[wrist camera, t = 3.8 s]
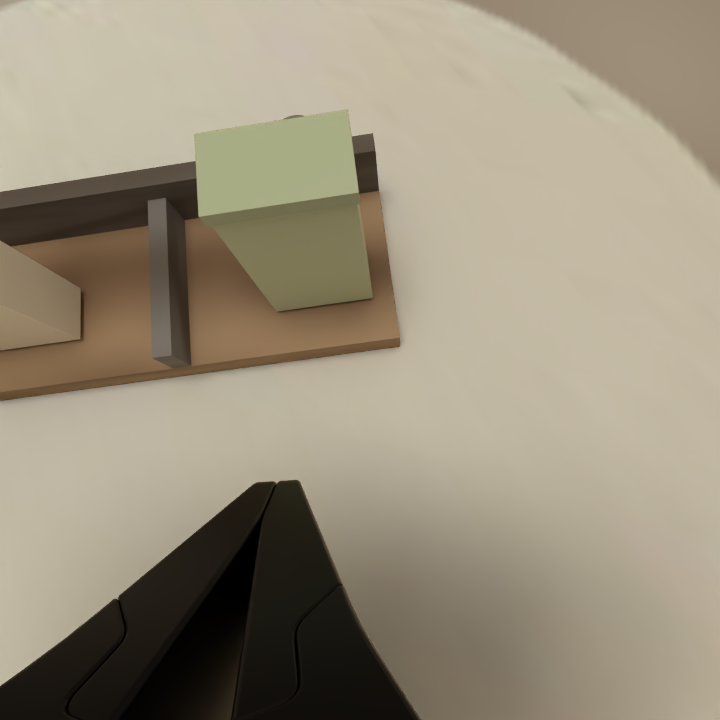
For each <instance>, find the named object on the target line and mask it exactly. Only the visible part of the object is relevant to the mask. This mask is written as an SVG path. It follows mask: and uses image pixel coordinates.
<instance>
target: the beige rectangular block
mask: <svg viewBox="0 0 720 720" xmlns="http://www.w3.org/2000/svg"><path fill="white" fill-rule="evenodd" d="M80 314H81V288H79V287H78V286H76V285H74V284H73V283H71V282H69V281H67V280H66V279H64V278H62V277H61V276H59V275H57V274H56V273H54V272H52V271H51V270H49V269H47V268H46V267H44V266H42V265H41V264H39V263H37V262H36V261H34V260H32V259H30V258H29V257H27V256H25V255H24V254H22V253H20V252H19V251H17V250H15V249H14V248H12V247H10V246H9V245H7V244H5V243H4V242H2V241H0V350H7V349H14V348H22V347H29V346H36V345H43V344H50V343H57V342H64V341H71V340H78V339H80Z"/></svg>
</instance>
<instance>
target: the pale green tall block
mask: <svg viewBox="0 0 720 720" xmlns="http://www.w3.org/2000/svg"><path fill="white" fill-rule="evenodd" d="M194 138H195V157H196V177H197V196H198V215H199V218H200V219H201V221H202V222H203V223H204V224H205V226H206V227H211V226H212V227H213V228H214V230H215V231H216V232H217V233H218V235H219V236H220V237H221V239H222V240H223V241H224V243H225V244H226V245H227V247H228V248H229V249H230V251H231V252H232V253H233V255H234V256H235V257H236V259H237V260H238V261H239V263H240V264H241V265H242V267H243V268H244V269H245V271H246V272H247V273H248V275H249V276H250V277H251V278H252V280H253V281H254V282H255V284H256V285H257V286H258V288H259V289H260V290H261V292H262V293H263V294H264V296H265V297H266V298H267V300H268V301H269V302H270V304H271V305H272V306H273V308H274V309H275V310H276V312H277V311H284V310H291V309H298V308H306V307H313V306H320V305H327V304H334V303H341V302H348V301H355V300H362V299H369V298H373V295H372V287H371V280H370V272H369V264H368V257H367V249H366V243H365V236H364V230H363V224H362V218H361V212H360V205H359V204H360V196H359V189H358V181H357V174H356V166H355V158H354V151H353V143H352V136H351V128H350V121H349V114H348V109H347V110H341V111H335V112H328V113H322V114H316V115H310V116H303V117H297V118H291V119H285V120H278V121H272V122H266V123H260V124H254V125H247V126H241V127H235V128H229V129H222V130H216V131H210V132H204V133H197V134H194Z"/></svg>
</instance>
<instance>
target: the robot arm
mask: <svg viewBox="0 0 720 720" xmlns="http://www.w3.org/2000/svg"><path fill="white" fill-rule="evenodd" d="M118 600H119V601H118ZM0 720H421V719H420V718H419V716H418V715H417V713H416V712H415V710H414V708H413V707H412V705H411V704H410V702H409V701H408V699H407V698H406V696H405V694H404V693H403V691H402V690H401V688H400V687H399V685H398V684H397V682H396V681H395V679H394V677H393V676H392V674H391V673H390V671H389V670H388V668H387V667H386V665H385V663H384V662H383V660H382V659H381V657H380V656H379V654H378V653H377V651H376V649H375V648H374V646H373V644H372V643H371V641H370V639H369V637H368V636H367V634H366V632H365V631H364V629H363V627H362V625H361V623H360V621H359V619H358V617H357V615H356V613H355V611H354V609H353V607H352V604H351V602H350V600H349V598H348V595H347V593H346V590H345V588H344V587H343V584H342V582H341V580H340V577H339V575H338V572H337V570H336V568H335V565H334V563H333V560H332V558H331V556H330V553H329V551H328V548H327V546H326V544H325V541H324V539H323V536H322V534H321V532H320V529H319V527H318V524H317V522H316V519H315V517H314V515H313V512H312V510H311V507H310V505H309V503H308V500H307V498H306V495H305V493H304V491H303V488H302V486H301V483H300V482H299V481H298V480H288V481H279V482H278V483H276V482H273V481H272V482H257V483H255V484H253V485H252V486H251V487H249V488H248V489H247V490H246V491H245V492H243V493H242V494H241V495H240V496H239V497H237V498H236V499H235V500H234V501H233V502H231V503H230V504H229V505H228V506H227V507H225V508H224V509H223V510H222V511H221V512H219V513H218V514H217V515H216V516H215V517H213V518H212V519H211V520H210V521H209V522H207V523H206V524H205V525H204V526H203V527H201V528H200V529H199V530H198V531H196V532H195V533H194V534H193V535H192V536H190V537H189V538H188V539H187V540H186V541H184V542H183V543H182V544H181V545H180V546H178V547H177V548H176V549H175V550H174V551H172V552H171V553H170V554H169V555H168V556H166V557H165V558H164V559H163V560H162V561H160V562H159V563H158V564H157V565H156V566H154V567H153V568H152V569H151V570H149V571H148V572H147V573H146V574H145V575H143V576H142V577H141V578H140V579H139V580H137V581H136V582H135V583H134V584H133V585H131V586H130V587H129V588H128V589H127V590H125V591H124V592H123V593H122V594H121V595H119V597H118V599H113V600H112V601H111V602H110V603H109V604H107V605H106V606H105V607H104V608H102V609H101V610H100V611H99V612H98V613H96V614H95V615H94V616H93V617H91V618H90V619H89V620H88V621H86V622H85V623H84V624H83V625H81V626H80V627H79V628H78V629H76V630H75V631H74V632H73V633H71V634H70V635H69V636H68V637H66V638H65V639H64V640H62V641H61V642H60V643H58V644H57V645H56V646H54V647H53V648H52V649H50V650H49V651H48V652H46V653H45V654H44V655H42V656H41V657H40V658H38V659H37V660H36V661H34V662H33V663H31V664H30V665H29V666H27V667H26V668H25V669H23V670H22V671H21V672H19V673H18V674H16V675H15V676H14V677H12V678H11V679H9V680H8V681H7V682H5V683H4V684H2V685H1V686H0Z"/></svg>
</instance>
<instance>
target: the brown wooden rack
mask: <svg viewBox="0 0 720 720" xmlns="http://www.w3.org/2000/svg"><path fill="white" fill-rule="evenodd" d="M297 117H303V116H302V115H294V116H290V117H287V118H285V119H291V118H297ZM285 119H283V120H285ZM352 143H353V151H354V158H355V166H356V174H357V181H358V189H359V196H360V204H359V205H360V212H361V218H362V224H363V230H364V236H365V243H366V249H367V257H368V264H369V272H370V280H371V287H372V295H373V298H369V299H362V300H355V301H348V302H341V303H334V304H327V305H320V306H313V307H306V308H298V309H291V310H284V311H277V312H276V310H275V309H274V308H273V306H272V305H271V304H270V302H269V301H268V300H267V298H266V297H265V296H264V294H263V293H262V292H261V290H260V289H259V288H258V286H257V285H256V284H255V282H254V281H253V280H252V278H251V277H250V276H249V275H248V273H247V272H246V271H245V269H244V268H243V267H242V265H241V264H240V263H239V261H238V260H237V259H236V257H235V256H234V255H233V253H232V252H231V251H230V249H229V248H228V247H227V245H226V244H225V243H224V241H223V240H222V239H221V237H220V236H219V235H218V233H217V232H216V231H215V230H214V228H213V227H212V226H211V227H206V226H205V224H204V223H203V222H202V221H201V219H200V218H199V215H198V196H197V177H196V161H194V162H188V163H181V164H175V165H169V166H162V167H156V168H149V169H143V170H137V171H130V172H124V173H118V174H111V175H105V176H99V177H92V178H86V179H80V180H73V181H67V182H61V183H54V184H48V185H41V186H35V187H29V188H22V189H16V190H10V191H3V192H0V241H2V242H4V243H5V244H7V245H9V246H10V247H12V248H14V249H15V250H17V251H19V252H20V253H22V254H24V255H25V256H27V257H29V258H30V259H32V260H34V261H36V262H37V263H39V264H41V265H42V266H44V267H46V268H47V269H49V270H51V271H52V272H54V273H56V274H57V275H59V276H61V277H62V278H64V279H66V280H67V281H69V282H71V283H73V284H74V285H76V286H78V287H79V288H81V314H80V339H78V340H71V341H64V342H57V343H50V344H43V345H36V346H29V347H22V348H14V349H7V350H0V400H8V399H15V398H23V397H30V396H37V395H45V394H52V393H59V392H67V391H74V390H82V389H89V388H96V387H104V386H111V385H118V384H126V383H133V382H141V381H148V380H155V379H163V378H170V377H177V376H185V375H192V374H200V373H207V372H214V371H222V370H229V369H236V368H244V367H251V366H258V365H266V364H273V363H281V362H288V361H295V360H303V359H310V358H317V357H325V356H332V355H340V354H347V353H354V352H362V351H369V350H376V349H384V348H391V347H399V346H400V337H399V330H398V323H397V316H396V308H395V301H394V294H393V287H392V280H391V273H390V266H389V259H388V252H387V245H386V238H385V231H384V224H383V217H382V210H381V203H380V196H379V187H378V175H377V164H376V152H375V145H374V138H373V133H372V134H366V135H359V136H353V137H352Z"/></svg>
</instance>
